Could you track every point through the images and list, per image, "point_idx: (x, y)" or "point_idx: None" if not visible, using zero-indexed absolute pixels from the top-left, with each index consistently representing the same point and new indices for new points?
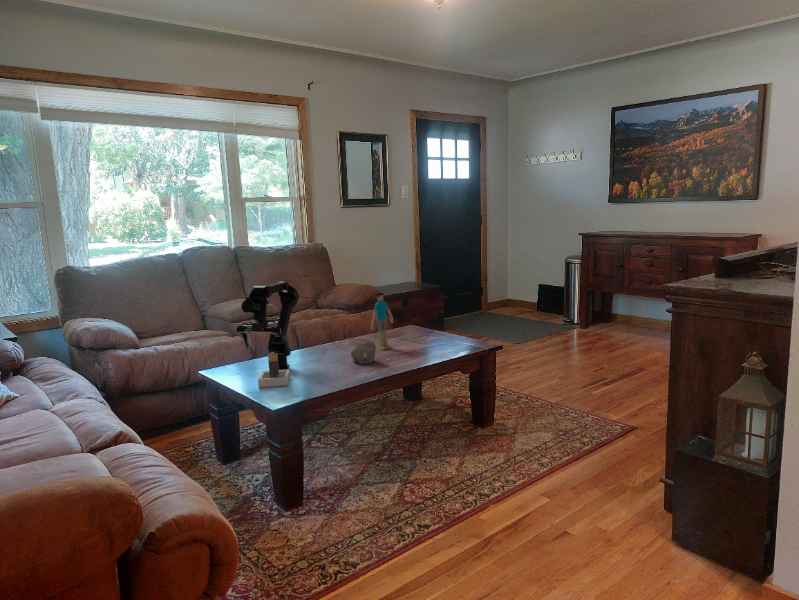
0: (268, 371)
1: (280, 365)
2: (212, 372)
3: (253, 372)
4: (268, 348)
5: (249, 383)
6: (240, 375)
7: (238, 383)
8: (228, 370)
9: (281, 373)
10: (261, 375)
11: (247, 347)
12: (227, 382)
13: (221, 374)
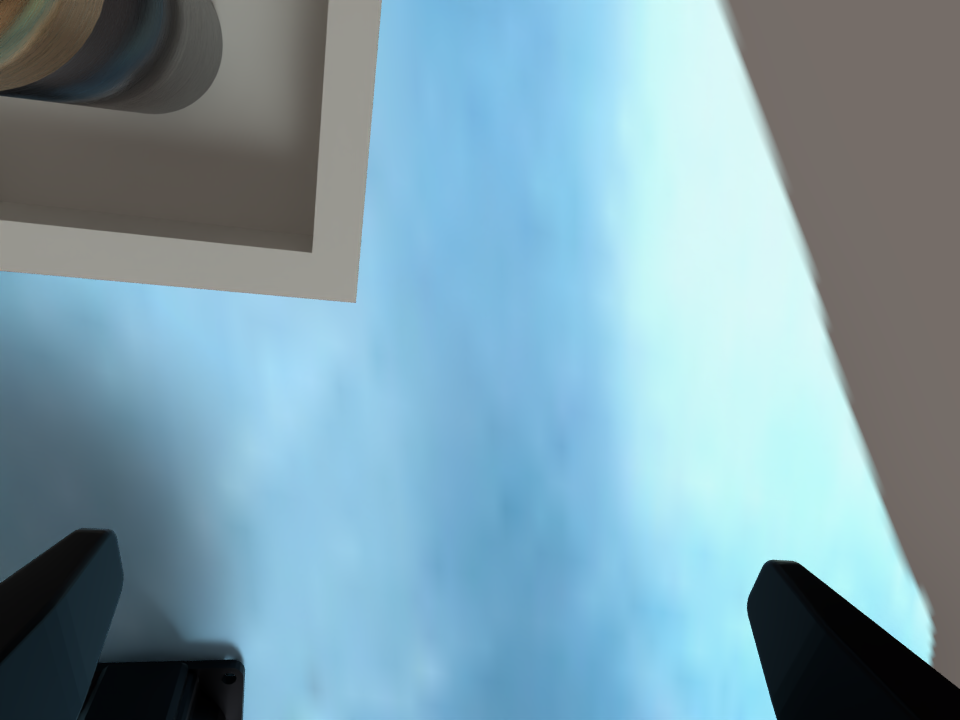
0: (245, 256)
1: (131, 691)
2: None
3: (487, 608)
4: (85, 546)
5: (527, 175)
6: (627, 532)
7: (659, 225)
8: (733, 714)
9: (14, 212)
10: (351, 34)
11: (794, 583)
12: (773, 309)
13: None
